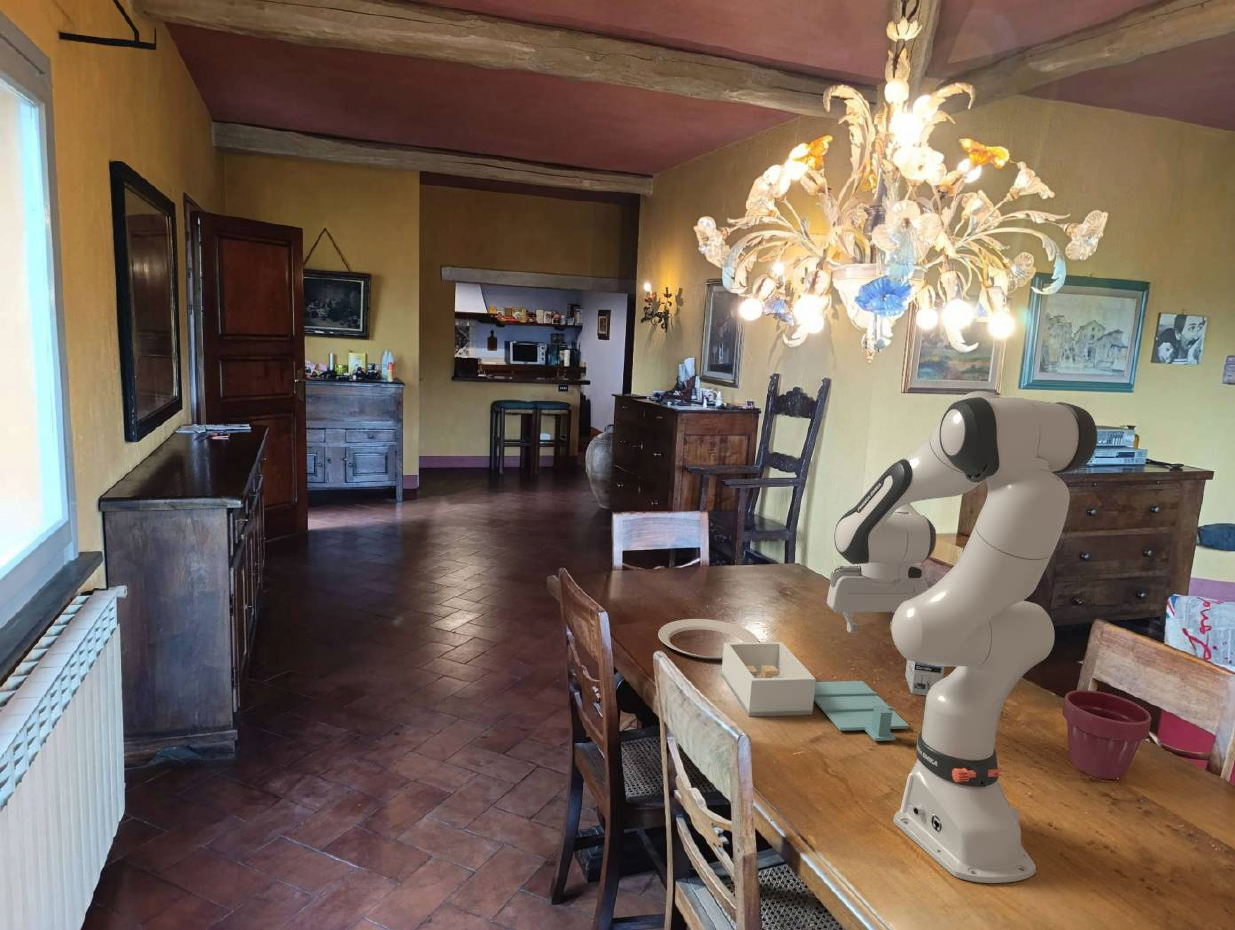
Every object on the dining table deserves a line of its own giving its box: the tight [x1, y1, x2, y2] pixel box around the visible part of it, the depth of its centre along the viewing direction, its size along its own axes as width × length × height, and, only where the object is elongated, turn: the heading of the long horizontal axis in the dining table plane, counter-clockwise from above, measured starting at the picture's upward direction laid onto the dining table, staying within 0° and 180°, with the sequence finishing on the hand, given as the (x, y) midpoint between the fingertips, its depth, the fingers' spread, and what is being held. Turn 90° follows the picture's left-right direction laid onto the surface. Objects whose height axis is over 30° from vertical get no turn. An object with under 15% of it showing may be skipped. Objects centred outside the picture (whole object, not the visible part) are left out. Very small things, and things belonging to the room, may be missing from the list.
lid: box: [814, 680, 910, 742], centre depth 173 cm, size 25×15×7 cm, turn 9°
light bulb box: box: [904, 659, 946, 697], centre depth 188 cm, size 11×7×11 cm, turn 168°
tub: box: [720, 641, 817, 717], centre depth 180 cm, size 20×14×8 cm
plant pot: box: [1062, 689, 1152, 780], centre depth 155 cm, size 14×14×13 cm
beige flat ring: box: [657, 618, 759, 660], centre depth 207 cm, size 26×26×2 cm
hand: (873, 631), depth 167 cm, fingers open, 8 cm apart
